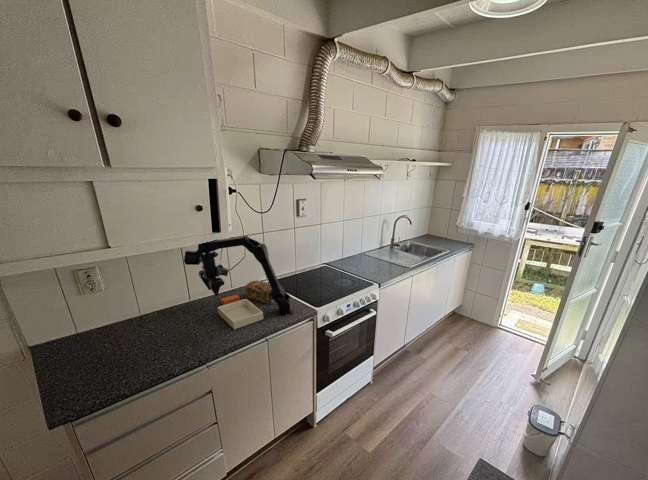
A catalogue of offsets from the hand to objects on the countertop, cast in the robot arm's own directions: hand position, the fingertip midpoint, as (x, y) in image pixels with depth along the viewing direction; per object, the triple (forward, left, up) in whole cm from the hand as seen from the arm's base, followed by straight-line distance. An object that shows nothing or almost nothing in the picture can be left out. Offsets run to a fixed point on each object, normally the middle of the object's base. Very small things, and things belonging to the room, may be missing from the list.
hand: (213, 292), depth 154 cm
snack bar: (+5, -10, -12) cm, 16 cm away
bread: (0, -28, -12) cm, 30 cm away
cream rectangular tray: (-12, -8, -12) cm, 19 cm away
